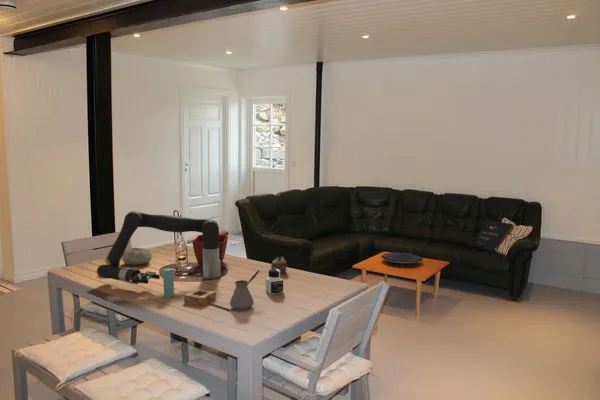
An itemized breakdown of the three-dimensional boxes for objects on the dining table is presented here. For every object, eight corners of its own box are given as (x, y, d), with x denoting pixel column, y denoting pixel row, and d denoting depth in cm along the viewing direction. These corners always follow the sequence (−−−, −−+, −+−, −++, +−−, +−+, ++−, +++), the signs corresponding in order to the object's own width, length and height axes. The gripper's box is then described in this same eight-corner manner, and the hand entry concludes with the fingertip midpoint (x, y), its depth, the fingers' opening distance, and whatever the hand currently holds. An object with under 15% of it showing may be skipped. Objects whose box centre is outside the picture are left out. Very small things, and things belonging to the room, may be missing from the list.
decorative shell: (144, 258, 323) (144, 243, 321) (157, 264, 310) (156, 248, 308) (117, 263, 311) (117, 248, 309) (129, 269, 298) (129, 253, 296)
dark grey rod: (208, 304, 240) (208, 302, 240) (210, 303, 241) (209, 302, 240) (229, 311, 231) (228, 309, 231) (230, 310, 232) (230, 308, 232)
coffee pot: (244, 314, 227) (244, 283, 225) (224, 309, 233) (224, 279, 231) (269, 300, 246) (269, 271, 244) (250, 296, 251) (250, 268, 249)
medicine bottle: (271, 294, 254) (270, 272, 252) (265, 290, 260) (265, 268, 258) (283, 292, 257) (283, 270, 255) (277, 288, 263) (277, 267, 262)
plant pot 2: (223, 268, 300) (223, 241, 298) (192, 268, 301) (191, 241, 298) (228, 260, 319) (228, 235, 317) (199, 260, 320) (198, 234, 317)
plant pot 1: (116, 274, 288) (115, 260, 286) (101, 273, 290) (101, 259, 288) (124, 270, 297) (124, 256, 295) (110, 269, 299) (110, 255, 297)
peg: (168, 294, 254) (167, 268, 252) (174, 295, 252) (173, 269, 250) (164, 296, 251) (163, 270, 249) (169, 297, 249) (168, 270, 247)
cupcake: (284, 270, 298) (284, 254, 296) (288, 274, 289) (288, 258, 287) (268, 271, 295) (268, 255, 293) (273, 276, 286) (273, 259, 284)
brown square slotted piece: (197, 296, 251) (197, 288, 251) (215, 299, 247) (215, 291, 246) (184, 302, 242) (184, 295, 241) (202, 306, 237) (202, 298, 236)
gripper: (119, 272, 254) (143, 276, 248) (139, 265, 267) (162, 268, 260) (120, 286, 255) (144, 290, 249) (139, 278, 268) (163, 282, 261)
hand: (153, 279), depth 255 cm, fingers open, 8 cm apart
